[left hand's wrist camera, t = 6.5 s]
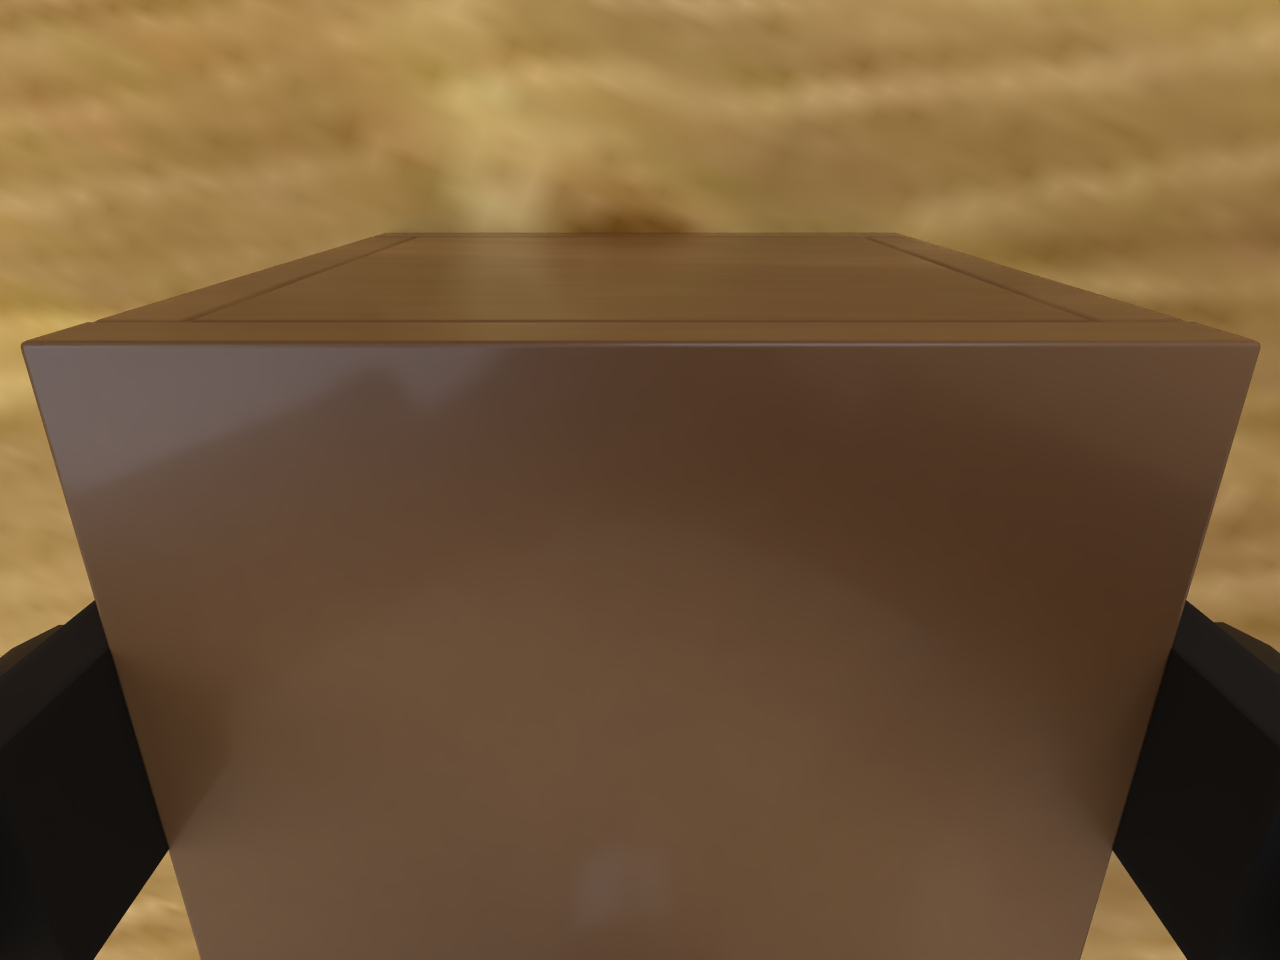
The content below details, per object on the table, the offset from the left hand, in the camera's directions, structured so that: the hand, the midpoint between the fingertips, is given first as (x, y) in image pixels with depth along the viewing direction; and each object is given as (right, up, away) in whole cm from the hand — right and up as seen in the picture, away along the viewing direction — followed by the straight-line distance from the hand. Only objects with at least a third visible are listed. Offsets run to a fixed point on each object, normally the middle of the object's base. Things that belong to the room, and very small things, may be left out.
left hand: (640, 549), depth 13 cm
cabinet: (0, -3, +7) cm, 8 cm away
